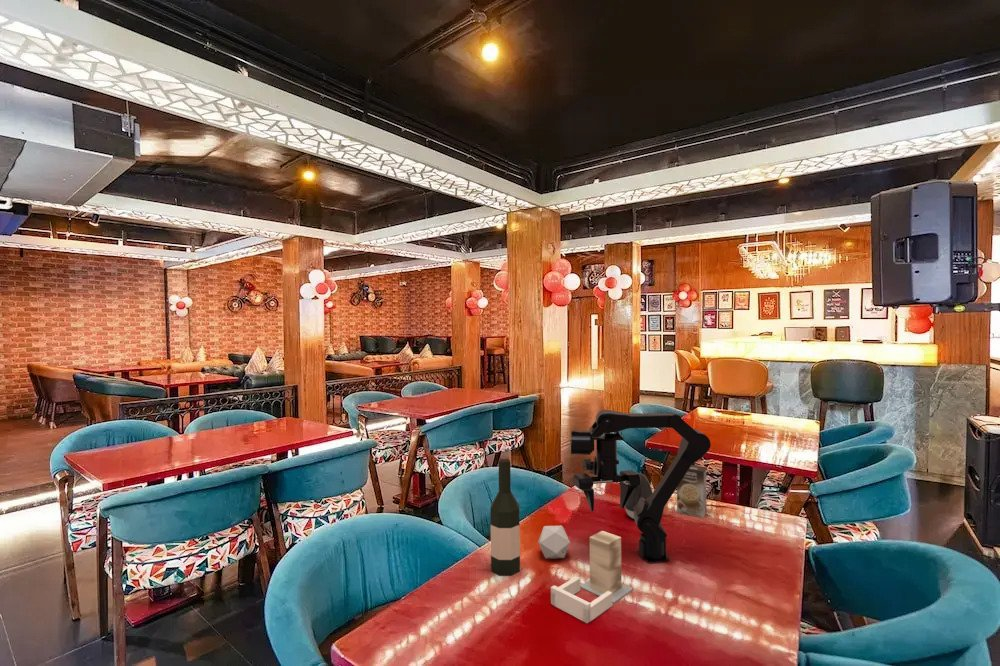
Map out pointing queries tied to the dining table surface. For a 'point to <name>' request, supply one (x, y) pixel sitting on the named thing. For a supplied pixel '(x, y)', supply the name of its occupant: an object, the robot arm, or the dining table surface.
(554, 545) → the die
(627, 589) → the grey pad
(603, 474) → the robot arm
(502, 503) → the wine bottle
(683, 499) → the coffee box
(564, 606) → the white angular bracket
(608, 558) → the birch block
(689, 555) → the dining table surface
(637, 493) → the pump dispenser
